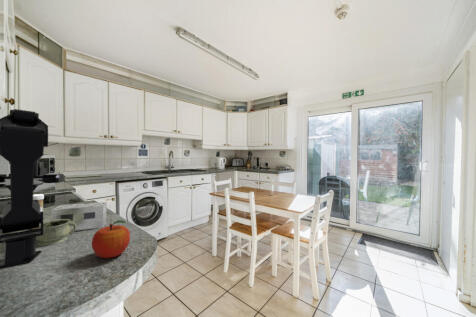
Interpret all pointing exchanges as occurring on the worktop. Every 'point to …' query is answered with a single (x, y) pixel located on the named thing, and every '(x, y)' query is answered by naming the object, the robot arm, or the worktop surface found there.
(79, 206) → the housing
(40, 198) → the sprinkles bottle
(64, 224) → the vessel
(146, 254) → the worktop surface
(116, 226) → the fruit
